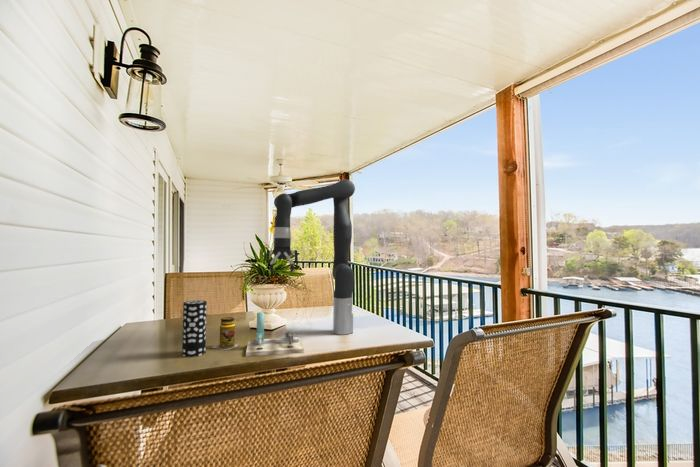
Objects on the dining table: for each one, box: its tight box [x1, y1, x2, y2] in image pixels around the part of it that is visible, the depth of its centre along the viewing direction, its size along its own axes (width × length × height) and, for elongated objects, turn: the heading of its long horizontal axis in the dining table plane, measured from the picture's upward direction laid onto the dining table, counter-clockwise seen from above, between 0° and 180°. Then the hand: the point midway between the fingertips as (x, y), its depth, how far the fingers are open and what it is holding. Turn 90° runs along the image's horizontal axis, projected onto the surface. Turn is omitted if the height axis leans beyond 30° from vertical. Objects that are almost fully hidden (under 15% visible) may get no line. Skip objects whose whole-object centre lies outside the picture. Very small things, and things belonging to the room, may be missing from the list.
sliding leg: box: [255, 311, 265, 346], centre depth 138 cm, size 3×9×12 cm, turn 14°
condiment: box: [211, 316, 239, 351], centre depth 142 cm, size 7×8×12 cm
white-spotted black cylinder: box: [181, 299, 208, 358], centre depth 133 cm, size 8×8×20 cm
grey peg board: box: [245, 329, 305, 357], centre depth 139 cm, size 22×14×6 cm, turn 104°
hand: (281, 272), depth 155 cm, fingers open, 8 cm apart
